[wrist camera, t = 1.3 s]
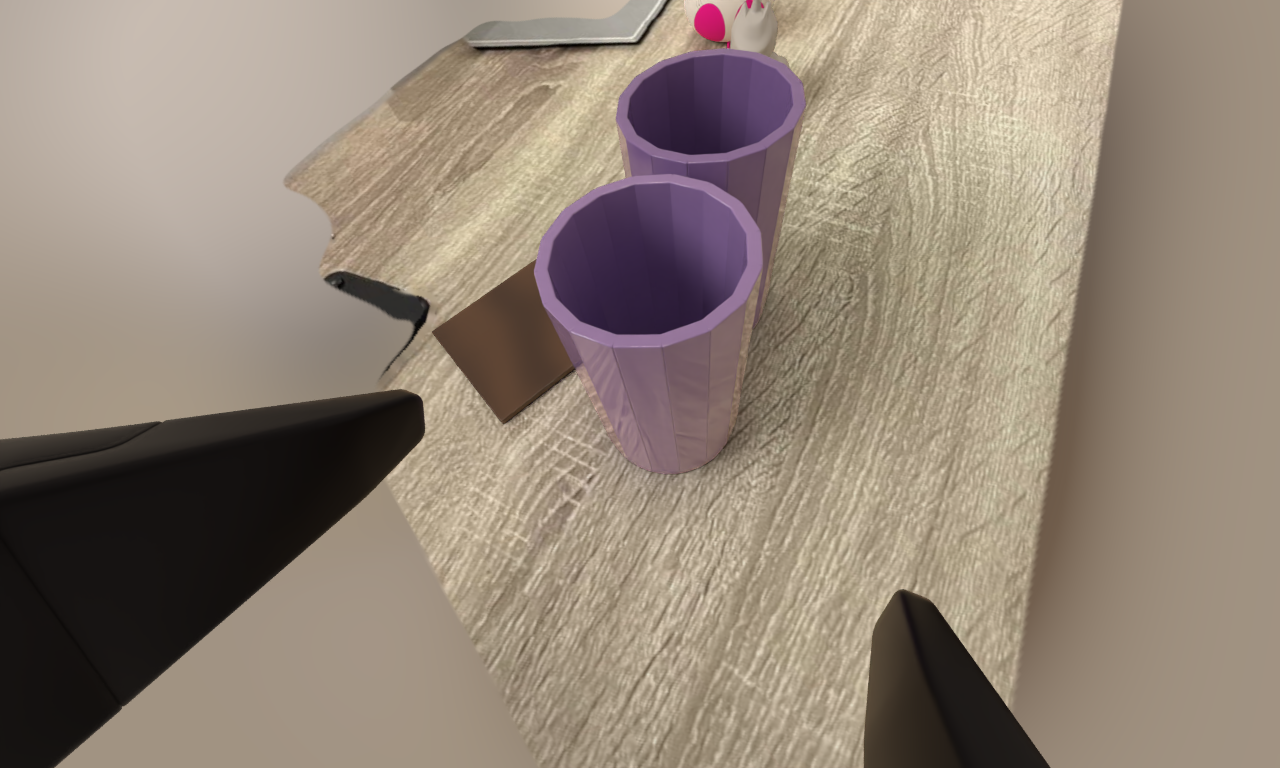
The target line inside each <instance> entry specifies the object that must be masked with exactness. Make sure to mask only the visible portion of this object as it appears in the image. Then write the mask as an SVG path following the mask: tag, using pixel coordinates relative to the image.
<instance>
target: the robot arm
mask: <svg viewBox="0 0 1280 768" xmlns="http://www.w3.org/2000/svg"><path fill="white" fill-rule="evenodd" d="M424 433H425V421H424V409H423V401H422V399H421V397H420V396H418V395H417V394H414V393H412V392H409V391H407V390H402V389H399V390H391V391H383V392H376V393H369V394H361V395H354V396H346V397H339V398H332V399H323V400H316V401H309V402H301V403H293V404H286V405H278V406H271V407H264V408H256V409H248V410H241V411H233V412H226V413H219V414H211V415H203V416H196V417H189V418H181V419H174V420H166V421H164V422H150V423H142V424H135V425H128V426H119V427H111V428H104V429H95V430H87V431H78V432H69V433H60V434H50V435H41V436H32V437H22V438H12V439H2V440H0V768H54V767H56V766H57V765H58V764H59V763H60V762H61V761H63V759H65V758H66V757H67V756H68V755H70V753H72V752H73V751H74V750H75V749H76V748H78V747H79V746H80V745H81V744H82V743H83V742H85V741H86V740H87V739H88V738H89V737H90V736H91V735H93V734H94V733H95V732H96V731H97V730H98V729H100V728H101V727H102V726H103V725H104V724H105V723H106V722H108V721H109V720H110V719H111V718H112V717H113V716H114V715H116V714H117V713H118V712H119V711H120V710H121V709H122V706H125V705H126V704H128V703H129V702H130V701H131V700H132V699H133V698H135V697H136V696H137V695H138V694H139V693H140V692H141V691H143V690H144V689H145V688H146V687H147V686H148V685H150V684H151V683H152V682H153V681H154V680H155V679H157V678H158V677H159V676H160V675H161V674H162V673H163V672H165V671H166V670H167V669H168V668H169V667H170V666H171V665H172V664H174V663H175V662H176V661H177V660H178V659H180V658H181V657H182V656H183V655H184V654H185V653H187V652H188V651H189V650H190V649H191V648H192V647H193V646H195V645H196V644H197V643H198V642H199V641H200V640H202V639H203V638H204V637H205V636H206V635H207V634H209V633H210V632H211V631H212V630H213V629H214V628H215V627H217V626H218V625H219V624H220V623H221V622H222V621H223V620H225V619H226V618H227V617H228V616H229V615H230V614H232V613H233V612H234V611H235V610H236V609H237V608H238V607H240V606H241V605H242V604H243V603H244V602H245V601H247V599H249V598H250V597H251V596H252V595H254V594H255V593H256V592H257V591H258V590H259V589H261V588H262V587H263V586H264V585H265V584H266V583H267V582H268V581H270V580H271V579H272V578H273V577H274V576H276V575H277V574H278V573H279V572H280V571H281V570H282V569H284V568H285V567H286V566H287V565H288V564H289V563H291V562H292V561H293V560H294V559H295V558H296V557H297V556H298V555H300V554H301V553H302V552H303V551H304V550H306V548H308V547H309V546H310V545H311V544H312V543H314V542H315V541H316V540H317V539H318V538H319V537H321V536H322V535H323V534H324V533H325V532H326V531H328V530H329V529H330V528H331V527H332V526H333V525H334V524H336V523H337V522H338V521H339V520H340V519H341V518H342V517H343V516H345V515H346V514H347V513H348V512H349V511H351V510H352V509H353V508H354V507H355V506H356V505H358V504H359V503H360V502H361V501H362V500H363V499H364V498H365V497H366V496H367V495H368V494H369V493H370V492H371V491H372V490H373V489H374V488H376V486H377V485H378V484H379V483H380V482H381V481H382V480H383V479H384V478H385V477H386V476H387V475H388V474H389V473H390V472H391V471H392V470H393V469H394V468H395V467H396V466H397V465H398V464H399V463H400V462H401V461H402V460H403V459H404V458H405V457H406V456H407V455H408V453H409V452H410V451H411V450H412V449H413V448H414V447H415V446H416V445H417V444H418V443H419V442H420V441H421V439H422V438H423V436H424ZM864 768H1050V767H1049V765H1048V764H1047V762H1046V761H1045V759H1044V758H1043V756H1042V755H1041V754H1040V752H1039V751H1038V750H1037V748H1036V747H1035V745H1034V744H1033V742H1032V741H1031V740H1030V738H1029V737H1028V735H1027V734H1026V733H1025V731H1024V730H1023V728H1022V727H1021V726H1020V724H1019V723H1018V721H1017V720H1016V719H1015V717H1014V716H1013V714H1012V713H1011V712H1010V710H1009V709H1008V707H1007V706H1006V704H1005V703H1004V702H1003V700H1002V699H1001V697H1000V696H999V695H998V693H997V692H996V690H995V689H994V688H993V686H992V685H991V683H990V682H989V681H988V679H987V678H986V676H985V675H984V674H983V672H982V671H981V669H980V668H979V667H978V665H977V664H976V662H975V661H974V660H973V658H972V657H971V655H970V654H969V652H968V651H967V650H966V648H965V647H964V645H963V644H962V643H961V641H960V640H959V638H958V637H957V636H956V634H955V633H954V631H953V630H952V629H951V627H950V626H949V624H948V623H947V622H946V620H945V619H944V617H943V616H942V615H941V613H940V612H939V610H938V609H937V608H936V606H935V605H934V604H933V603H932V602H931V601H930V600H929V599H927V598H925V597H922V596H920V595H917V594H915V593H912V592H910V591H907V590H904V589H902V590H898V591H897V592H896V593H895V594H894V595H893V597H892V598H891V600H890V602H889V603H888V605H887V606H886V608H885V610H884V611H883V613H882V614H881V616H880V618H879V619H878V621H877V623H876V625H875V628H874V631H873V636H872V646H871V658H870V670H869V682H868V694H867V706H866V718H865V732H864Z"/></svg>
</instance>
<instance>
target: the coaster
mask: <svg viewBox="0 0 1280 768" xmlns="http://www.w3.org/2000/svg"><path fill="white" fill-rule="evenodd" d="M536 260H537V259H536ZM536 260H534V261H533V262H531V263H530V264H528V265H527V266H526V267H524V268H523V269H521V270H520V271H518V272H517V273H515V274H514V275H513V276H511V277H510V278H508V279H507V280H505V281H504V282H503V283H501V284H500V285H498V286H497V287H495V288H494V289H493V290H491V291H490V292H488V293H487V294H485V295H484V296H482V297H481V298H480V299H478V300H477V301H475V302H474V303H472V304H471V305H470V306H468V307H467V308H465V309H464V310H462V311H461V312H459V313H458V314H457V315H455V316H454V317H452V318H451V319H449V320H448V321H447V322H445V323H444V324H442V325H441V326H439V327H438V328H436V329H435V330H434V331H432V333H433V334H434V336H435V337H436V338H437V340H438V341H439V342H440V344H441V345H442V346H443V347H444V349H445V350H446V351H447V353H448V354H449V355H450V356H451V358H452V359H453V360H454V362H455V363H456V364H457V365H458V367H459V368H460V369H461V371H462V372H463V373H464V375H465V376H466V377H467V378H468V380H469V381H470V382H471V384H472V385H473V386H474V387H475V389H476V390H477V391H478V393H479V394H480V395H481V396H482V398H483V399H484V400H485V402H486V403H487V404H488V406H489V407H490V408H491V409H492V411H493V412H494V413H495V415H496V416H497V417H498V418H499V420H500V421H501V422H502V423H503V424H504V423H506V422H507V421H508V420H510V419H511V418H512V417H513V416H515V415H516V414H517V413H519V412H520V411H521V410H522V409H524V408H525V407H526V406H528V405H529V404H530V403H531V402H533V401H534V400H535V399H536V398H538V397H539V396H540V395H542V394H543V393H544V392H545V391H547V390H548V389H549V388H551V387H552V386H553V385H554V384H556V383H557V382H558V381H560V380H561V379H562V378H563V377H565V376H566V375H567V374H568V373H570V372H571V371H572V370H574V369H575V368H574V366H573V364H572V362H571V360H570V358H569V356H568V354H567V352H566V350H565V348H564V346H563V344H562V342H561V340H560V338H559V336H558V334H557V332H556V330H555V328H554V326H553V324H552V322H551V320H550V318H549V316H548V314H547V312H546V310H545V308H544V306H543V304H542V300H541V297H540V293H539V290H538V286H537V283H536V279H535V276H534V268H535V264H536Z"/></svg>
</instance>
